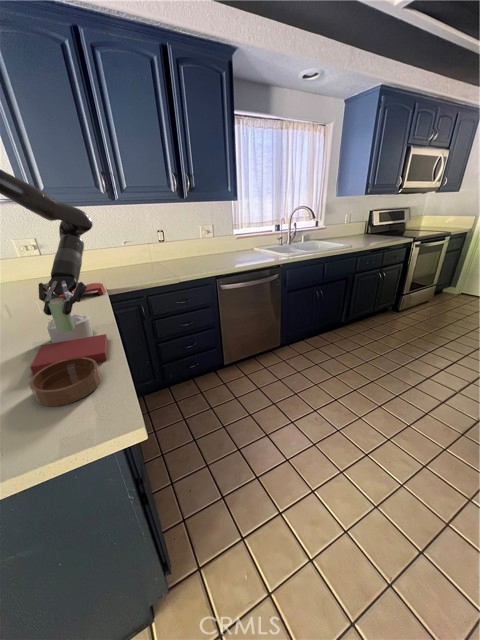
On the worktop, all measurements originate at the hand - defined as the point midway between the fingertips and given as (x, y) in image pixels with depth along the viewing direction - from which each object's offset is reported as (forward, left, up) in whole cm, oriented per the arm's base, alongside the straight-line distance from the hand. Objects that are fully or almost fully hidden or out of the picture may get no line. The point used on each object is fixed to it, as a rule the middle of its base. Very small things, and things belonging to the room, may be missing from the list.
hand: (56, 314), depth 80 cm
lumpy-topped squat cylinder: (-1, +17, -16) cm, 23 cm away
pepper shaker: (+1, +2, -6) cm, 6 cm away
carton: (-5, +73, -16) cm, 75 cm away
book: (+1, +2, -16) cm, 16 cm away
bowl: (+2, -16, -16) cm, 23 cm away
